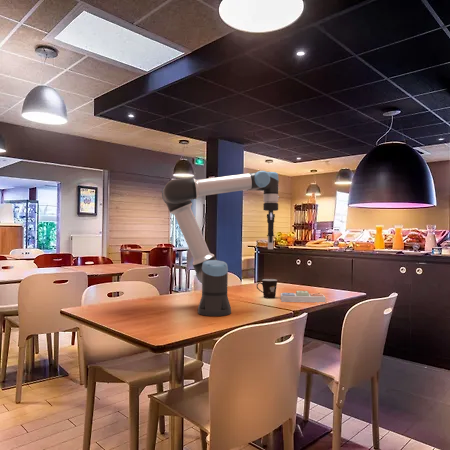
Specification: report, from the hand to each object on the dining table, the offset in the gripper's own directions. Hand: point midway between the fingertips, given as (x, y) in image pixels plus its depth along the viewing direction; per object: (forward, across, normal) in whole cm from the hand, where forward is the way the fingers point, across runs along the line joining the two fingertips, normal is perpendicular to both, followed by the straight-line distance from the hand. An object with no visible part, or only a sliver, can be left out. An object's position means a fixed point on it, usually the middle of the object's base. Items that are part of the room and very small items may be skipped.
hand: (270, 249), depth 197 cm
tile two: (+27, +16, -18) cm, 36 cm away
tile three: (+28, +16, -25) cm, 41 cm away
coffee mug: (+29, +23, +1) cm, 37 cm away
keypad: (+28, +16, -18) cm, 37 cm away
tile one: (+28, +16, -11) cm, 34 cm away
